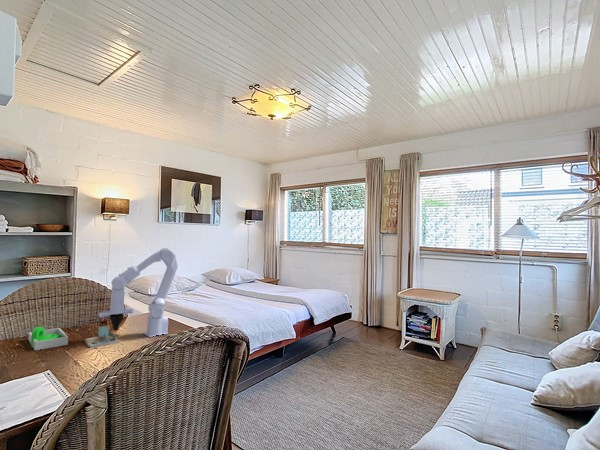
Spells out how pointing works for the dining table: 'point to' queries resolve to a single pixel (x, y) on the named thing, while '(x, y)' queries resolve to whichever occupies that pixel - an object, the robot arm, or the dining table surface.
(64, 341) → the white tray
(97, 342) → the template plate
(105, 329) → the sliding leg
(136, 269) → the robot arm
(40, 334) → the mechanical part
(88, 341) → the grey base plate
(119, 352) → the dining table surface
